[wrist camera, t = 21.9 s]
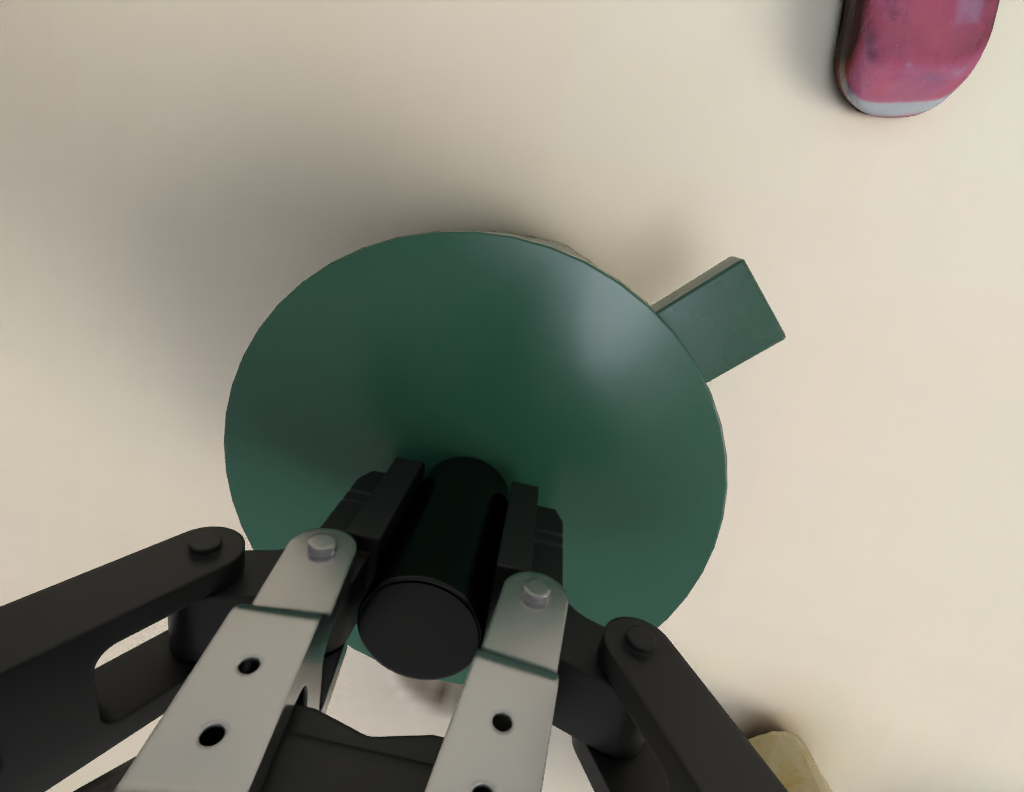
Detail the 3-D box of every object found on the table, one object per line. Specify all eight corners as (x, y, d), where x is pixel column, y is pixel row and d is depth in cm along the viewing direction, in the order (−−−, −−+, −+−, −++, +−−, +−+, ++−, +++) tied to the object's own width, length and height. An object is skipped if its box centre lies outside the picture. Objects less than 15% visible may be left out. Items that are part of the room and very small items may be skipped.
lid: (152, 408, 16) (-85, 522, 10) (538, 106, 12) (516, 11, 6) (430, 713, 19) (370, 934, 13) (802, 545, 15) (948, 748, 9)
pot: (258, 378, 24) (103, 463, 16) (607, 117, 19) (639, 49, 11) (428, 580, 27) (370, 739, 19) (768, 398, 22) (886, 505, 14)
